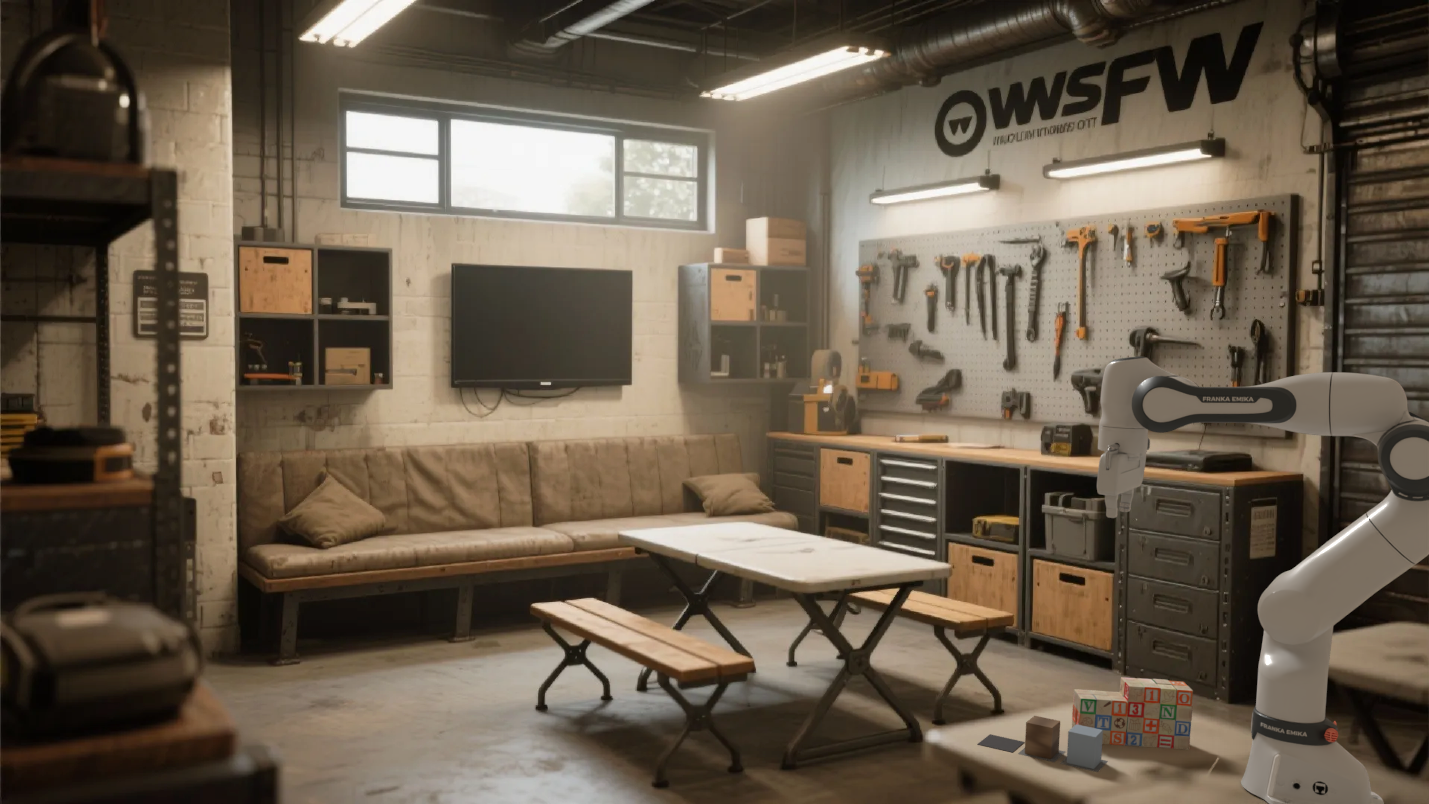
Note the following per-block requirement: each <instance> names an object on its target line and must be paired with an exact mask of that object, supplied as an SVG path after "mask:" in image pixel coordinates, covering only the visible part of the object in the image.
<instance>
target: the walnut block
mask: <svg viewBox="0 0 1429 804" xmlns="http://www.w3.org/2000/svg"><path fill="white" fill-rule="evenodd" d="M1060 733H1061V720H1057V719H1052V718H1047V717H1043V716H1039V715H1033V716H1032V717H1031V718H1030V719H1029V720H1027V721H1026V722H1025V735H1024V736H1025V739H1024V742H1025V743H1024V748H1025V754H1030V755H1034V756H1039V757H1043V758H1047V759H1052V758H1053V757H1054V756H1055V755H1056V754H1057V753H1058V752H1059V750H1060V737H1061V736H1060V735H1061V734H1060Z"/></svg>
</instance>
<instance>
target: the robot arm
mask: <svg viewBox="0 0 1429 804" xmlns="http://www.w3.org/2000/svg"><path fill="white" fill-rule="evenodd" d="M1100 388H1101V389H1100V401H1099V403H1100V407H1101V417H1100V420H1099V423H1098V437H1097V438H1098V441H1097V450H1099V451H1101V452H1103V453H1102V454H1101V455H1100V458H1099V462H1098V470H1097V478H1096V490H1097V494H1098V495H1103V496H1104V503H1105V508H1106V509H1105V510H1106V511H1105V516H1106V517H1107V518H1109V519H1110V518H1111V519H1115V518H1117V517H1118V515H1119V512H1121V513H1128V512H1130V511H1131V508H1132V501H1133V498H1134V495H1135V494H1134V493H1135V492H1134V491H1135V489H1137V488H1138V487H1141V486H1142V484H1143V480H1144V476H1145V468H1146V460H1147V452H1148V450H1150V449H1151V448H1150V447H1151V439H1150V437H1149V431H1150V432H1153V433H1158V434H1159V433H1160V434H1162V433H1163V434H1164V433H1169V432H1173V431H1175V430H1178V429H1180V428H1184V427H1186V426H1189V425H1192V424H1197V423H1199V424H1200V423H1203V424H1204V423H1205V424H1207V423H1214V424H1215V423H1218V424H1219V423H1223V424H1225V423H1226V424H1227V423H1228V424H1235V423H1236V424H1254V425H1259V426H1266V427H1270V428H1273V429H1274V428H1275V429H1279V430H1282V431H1288V432H1291V433H1292V432H1294V433H1299V434H1303V435H1304V434H1305V435H1310V436H1311V435H1312V436H1322V437H1323V436H1325V437H1331V436H1332V437H1354V438H1355V437H1356V438H1360V439H1364V440H1367V441H1369V442H1371V443H1372V444H1374V445H1375V446H1376V448H1377V462H1378V466H1379V469H1380V471H1381V473H1382V474H1383V476H1384V478H1385V480H1386V481H1387V484H1388V485H1389V487H1390V489H1391V490H1390V492H1389V493H1388V495H1387V496H1386V497H1385V498H1384V499H1383V500H1382V501H1381V502H1379V503H1378V504H1376V505H1375V506H1374V507H1372V508H1371V509H1369V510H1368V511H1366V513H1364V514H1362V515H1361V516H1360V517H1359V518H1357V519H1356V520H1354V521H1353V522H1352V523H1351V524H1348V526H1347V527H1345V528H1344V529H1342V530H1341V531H1340V532H1338V533H1337V534H1336V535H1334V536H1333V537H1332V538H1330V539H1329V540H1327V541H1326V542H1325V543H1324V544H1323V545H1321V546H1320V547H1319V548H1317V549H1316V550H1314V551H1313V552H1312V553H1311V554H1310V555H1309V556H1307V557H1305V559H1303V560H1302V561H1301V562H1299V563H1298V564H1296V566H1295V567H1293V568H1292V569H1290V570H1287V571H1284V572H1282V573H1280V574H1279V575H1278V576H1276V577H1275V578H1274V579H1273V581H1272V582H1271V583H1270V584H1269V585H1268V586H1267V588H1265V590H1264V591H1263V592H1262V593H1261V595H1260V597H1259V600H1258V603H1257V615H1258V620H1259V623H1260V625H1261V627H1262V628H1263V636H1262V643H1261V650H1260V656H1259V659H1258V660H1259V661H1258V668H1257V685H1256V697H1255V698H1256V699H1255V700H1256V701H1255V702H1256V703H1255V706H1254V708H1253V709H1252V713H1251V723H1250V734H1251V739H1252V741H1251V747H1250V752H1249V757H1248V760H1247V765H1246V768H1245V770H1244V774H1243V776H1242V778H1241V780H1240V783H1241V787H1243V788H1244V789H1245V790H1246V791H1248V792H1249V793H1251V794H1252V795H1255V796H1257V797H1258V798H1260V799H1262V800H1264V801H1266V803H1268V804H1385V802H1384V800H1383V798H1382V797H1381V796H1380V795H1379V794H1377V793H1376V792H1374V791H1372V789H1371V782H1370V777H1369V773H1368V771H1367V769H1366V767H1365V766H1364V764H1363V763H1361V762H1360V761H1359V760H1358V759H1357V758H1356V757H1355V756H1354V755H1352V754H1351V753H1350V752H1349V751H1348V750H1346V748H1344V747H1343V746H1342V745H1341V744H1340V743H1339V742H1338V741H1337V740H1338V737H1339V732H1338V726H1337V725H1338V724H1337V722H1336V720H1334V721H1331V720H1330V719H1329V718H1327V716H1326V706H1327V693H1328V692H1327V691H1328V677H1329V668H1330V659H1331V649H1332V643H1333V634H1334V626H1335V625H1336V624H1337V623H1339V622H1340V621H1341V620H1343V619H1344V618H1345V617H1346V616H1347V615H1349V614H1350V613H1351V612H1353V611H1354V610H1356V609H1357V608H1359V606H1361V605H1362V604H1363V603H1364V602H1365V601H1367V600H1368V599H1369V598H1370V597H1372V596H1373V595H1374V594H1376V593H1377V592H1378V591H1380V590H1381V589H1383V588H1384V587H1385V586H1387V585H1388V584H1390V583H1391V582H1393V581H1394V580H1396V579H1397V578H1398V577H1400V576H1401V575H1403V574H1404V573H1405V572H1407V571H1408V570H1409V569H1411V568H1412V567H1414V566H1415V565H1417V564H1418V563H1419V562H1421V561H1422V560H1423V559H1425V558H1426V557H1428V556H1429V420H1426V419H1425V418H1423V417H1421V416H1418V414H1415V413H1414V412H1412V411H1409V408H1408V398H1407V395H1406V392H1405V390H1404V388H1403V387H1402V385H1401V384H1400V383H1399V382H1398V381H1397V380H1396V379H1394V378H1390V377H1387V376H1380V375H1377V374H1376V375H1375V374H1370V373H1369V374H1367V373H1357V372H1341V371H1339V372H1338V371H1337V372H1336V371H1335V372H1332V371H1330V372H1329V371H1328V372H1313V373H1302V374H1295V375H1293V376H1287V377H1283V378H1280V379H1275V380H1273V381H1270V382H1266V383H1262V384H1258V385H1251V386H1248V385H1247V386H1199V384H1197V383H1196V382H1194V381H1193V380H1191V379H1189V378H1186V377H1184V376H1181V375H1178V374H1176V373H1174V372H1173V373H1172V372H1170V371H1168V370H1166V369H1164V368H1162V367H1160V366H1158V365H1157V364H1155V363H1153V362H1152V361H1151V360H1150V359H1149V358H1148V357H1145V356H1141V355H1140V356H1139V355H1138V356H1128V357H1121V358H1115V359H1113V360H1111V361H1109V363H1108V364H1106V366H1105V368H1104V372H1103V375H1102V381H1101V387H1100ZM1119 495H1121V496H1120V502H1119V507H1118V500H1119Z"/></svg>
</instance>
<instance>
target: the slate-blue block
mask: <svg viewBox="0 0 1429 804" xmlns="http://www.w3.org/2000/svg"><path fill="white" fill-rule="evenodd" d="M1102 738H1103V730H1101V729H1096V728H1091V727H1087V726H1082V725H1077V724H1076V725H1075V726H1074V727H1073V728H1072V727H1071V728H1070V729H1069V730H1068V732H1067V749H1066V750H1067V751H1066V753H1067V754H1066V757H1067V763H1069V764H1074V765H1078V766H1082V767H1087V768H1091V769H1094V768H1095V767H1096V766H1097V765H1098V764H1099V763H1100V762H1101V760H1102V755H1103V754H1102V751H1103V744H1102Z"/></svg>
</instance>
